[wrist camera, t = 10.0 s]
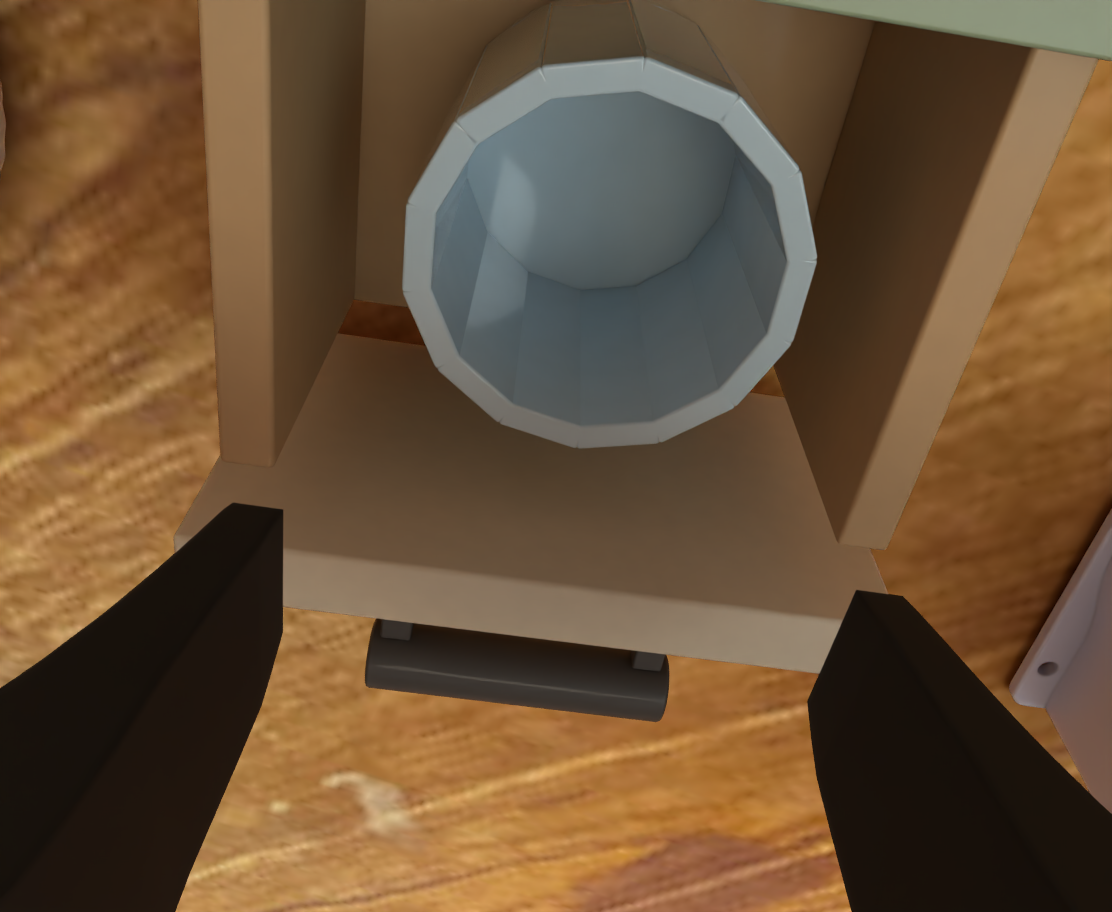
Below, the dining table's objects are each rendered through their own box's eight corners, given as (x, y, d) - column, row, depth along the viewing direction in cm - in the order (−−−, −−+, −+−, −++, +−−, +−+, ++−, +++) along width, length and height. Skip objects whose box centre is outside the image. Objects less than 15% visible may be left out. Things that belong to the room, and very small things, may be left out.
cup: (510, 330, 19) (487, 489, 15) (401, 50, 16) (332, 137, 12) (777, 252, 18) (843, 396, 14) (711, -60, 15) (768, -11, 11)
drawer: (749, 583, 24) (806, 839, 18) (292, 524, 23) (191, 770, 17) (1010, -181, 15) (1294, -186, 9) (292, -314, 15) (85, -415, 9)
